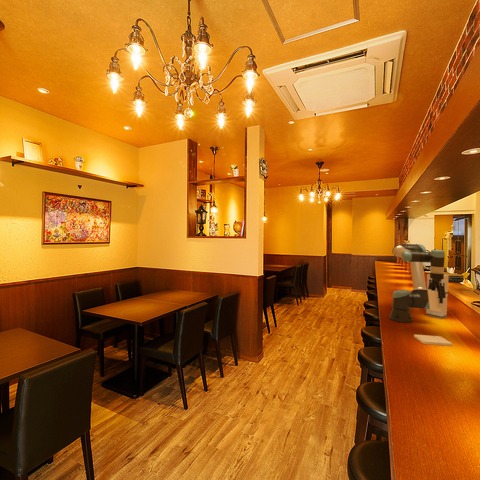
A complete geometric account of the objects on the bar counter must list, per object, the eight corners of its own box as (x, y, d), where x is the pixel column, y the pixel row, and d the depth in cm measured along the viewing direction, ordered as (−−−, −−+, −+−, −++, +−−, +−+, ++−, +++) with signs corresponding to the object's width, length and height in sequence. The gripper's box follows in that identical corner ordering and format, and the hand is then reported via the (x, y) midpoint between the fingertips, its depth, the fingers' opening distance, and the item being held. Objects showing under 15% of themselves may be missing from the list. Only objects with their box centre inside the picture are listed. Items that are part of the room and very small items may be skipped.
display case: (447, 317, 224) (448, 275, 223) (441, 319, 218) (443, 276, 217) (431, 313, 233) (432, 273, 233) (425, 315, 227) (427, 274, 227)
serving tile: (413, 336, 177) (413, 334, 177) (440, 338, 175) (440, 336, 175) (423, 343, 165) (423, 341, 165) (452, 346, 163) (452, 343, 163)
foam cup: (447, 312, 176) (448, 292, 175) (431, 311, 178) (432, 291, 177) (439, 308, 185) (440, 289, 185) (424, 307, 187) (425, 288, 187)
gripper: (422, 270, 192) (421, 301, 193) (440, 274, 170) (438, 310, 171) (434, 270, 191) (432, 302, 192) (453, 275, 169) (452, 310, 170)
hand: (435, 306), depth 181 cm, fingers closed on foam cup, 9 cm apart
